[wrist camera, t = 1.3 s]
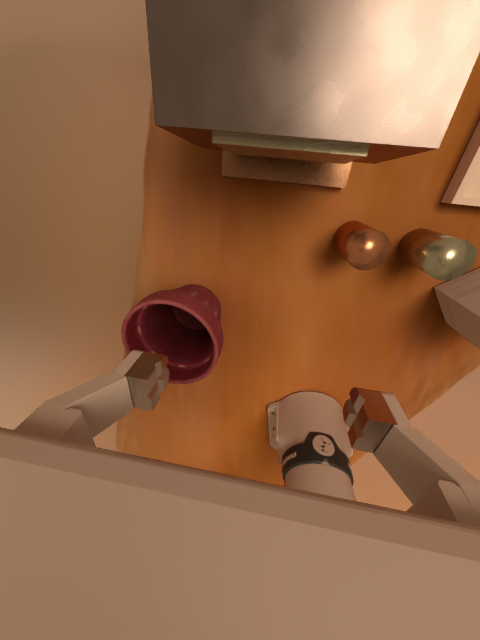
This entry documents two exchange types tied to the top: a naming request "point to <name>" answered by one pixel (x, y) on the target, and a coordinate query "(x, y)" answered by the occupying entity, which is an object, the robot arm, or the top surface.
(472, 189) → the tray
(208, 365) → the plant pot
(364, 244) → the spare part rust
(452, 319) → the supplement box
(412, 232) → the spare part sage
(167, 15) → the mounted unit
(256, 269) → the top surface
